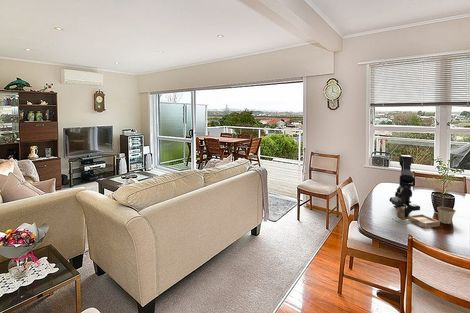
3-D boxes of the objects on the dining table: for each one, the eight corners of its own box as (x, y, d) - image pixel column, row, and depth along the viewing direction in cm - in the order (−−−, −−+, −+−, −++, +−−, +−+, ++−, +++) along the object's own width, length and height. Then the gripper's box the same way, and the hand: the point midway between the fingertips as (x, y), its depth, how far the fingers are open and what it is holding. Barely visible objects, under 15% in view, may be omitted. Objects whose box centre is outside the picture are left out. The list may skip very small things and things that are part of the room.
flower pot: (435, 217, 176) (437, 205, 174) (454, 221, 170) (455, 208, 168) (435, 222, 168) (436, 209, 167) (454, 226, 163) (456, 213, 161)
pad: (392, 219, 175) (392, 218, 175) (402, 217, 176) (402, 217, 176) (402, 224, 167) (402, 223, 167) (412, 222, 169) (412, 222, 169)
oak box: (408, 220, 173) (408, 215, 172) (421, 218, 175) (422, 214, 174) (424, 228, 161) (425, 223, 161) (439, 226, 163) (439, 221, 163)
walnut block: (396, 217, 173) (397, 207, 172) (402, 216, 174) (403, 206, 173) (402, 219, 169) (403, 209, 168) (408, 219, 170) (409, 208, 168)
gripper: (383, 189, 176) (381, 211, 178) (406, 198, 158) (404, 223, 160) (397, 188, 178) (395, 210, 181) (422, 197, 160) (419, 221, 163)
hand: (402, 216), depth 171 cm, fingers closed on walnut block, 4 cm apart
